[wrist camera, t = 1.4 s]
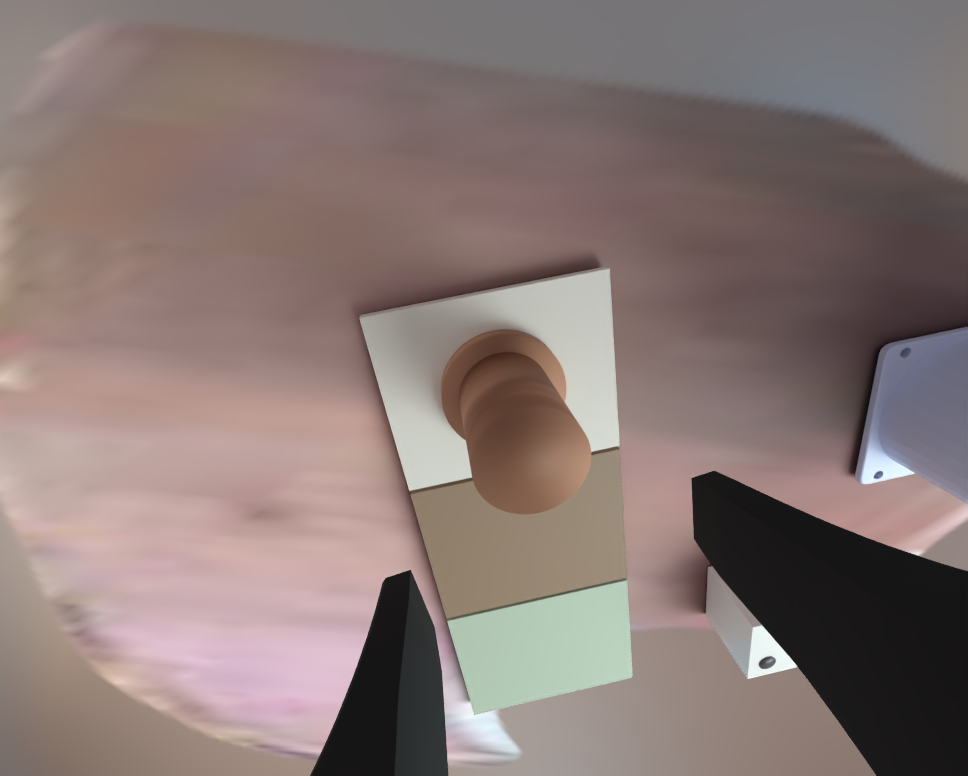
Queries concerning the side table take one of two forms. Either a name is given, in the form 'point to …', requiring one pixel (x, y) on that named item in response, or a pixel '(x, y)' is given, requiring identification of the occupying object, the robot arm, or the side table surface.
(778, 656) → the die
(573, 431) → the pawn
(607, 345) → the board
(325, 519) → the side table surface
